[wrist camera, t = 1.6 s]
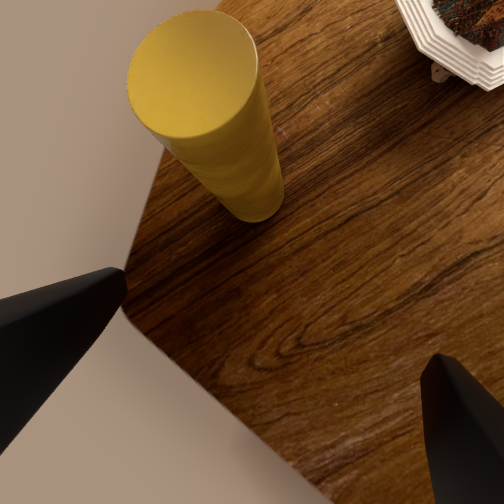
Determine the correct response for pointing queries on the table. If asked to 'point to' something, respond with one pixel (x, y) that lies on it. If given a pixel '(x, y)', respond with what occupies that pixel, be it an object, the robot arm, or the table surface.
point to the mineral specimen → (459, 38)
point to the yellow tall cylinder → (210, 108)
